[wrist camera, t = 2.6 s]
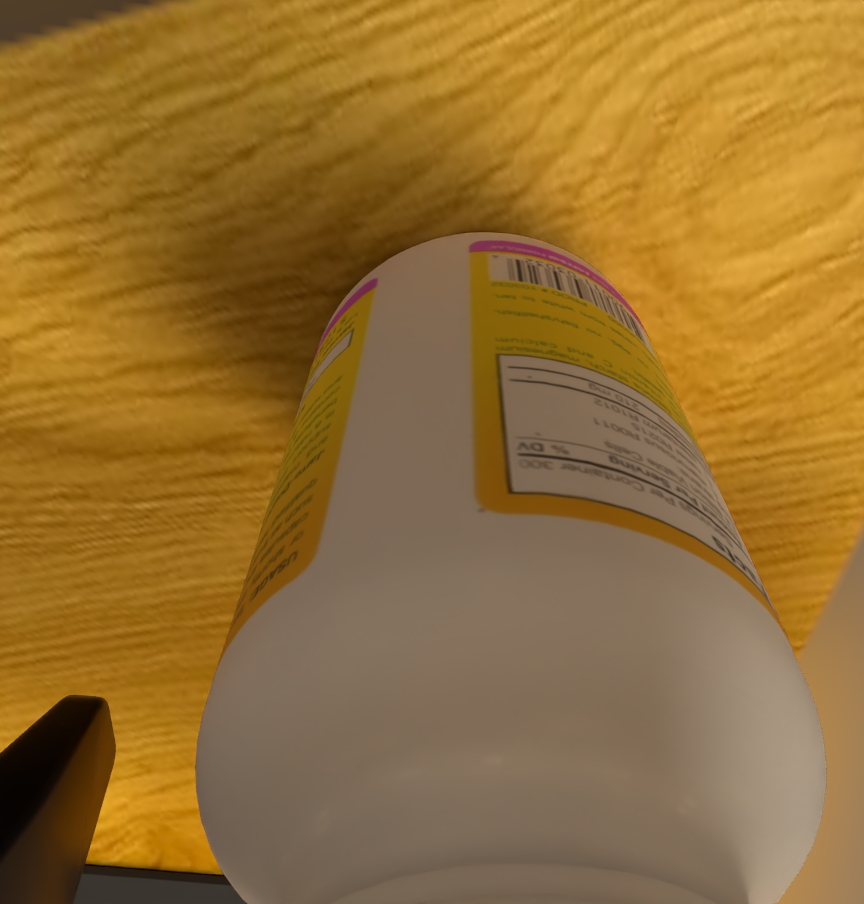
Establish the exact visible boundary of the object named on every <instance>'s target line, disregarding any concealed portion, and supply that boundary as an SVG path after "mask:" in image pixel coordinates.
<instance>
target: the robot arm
mask: <svg viewBox="0 0 864 904" xmlns="http://www.w3.org/2000/svg"><path fill="white" fill-rule="evenodd" d="M115 753H116V744H115V738H114V732H113V727H112V721H111V716H110V711H109V706H108V703H107V701H106V700H105V699H104V698H102V697H96V696H85V695H69V696H67V697H65V698H63V699H62V700H60V701H59V702H58V703H57V704H56V705H54V706H53V707H52V708H51V709H50V710H49V711H48V712H47V713H45V714H44V715H43V716H42V717H41V718H40V719H39V720H37V721H36V722H35V723H34V724H33V725H32V726H31V727H29V728H28V729H27V730H26V731H25V732H24V733H23V734H22V735H20V736H19V737H18V738H17V739H16V740H15V741H14V742H12V743H11V744H10V745H9V746H8V747H7V748H6V749H4V750H3V751H2V752H1V753H0V904H73V902H74V899H75V896H76V892H77V889H78V886H79V883H80V879H81V876H82V872H83V869H84V866H85V862H86V859H87V855H88V852H89V848H90V845H91V841H92V838H93V834H94V831H95V827H96V824H97V821H98V817H99V814H100V810H101V807H102V803H103V800H104V796H105V793H106V789H107V786H108V782H109V779H110V775H111V772H112V769H113V765H114V760H115Z"/></svg>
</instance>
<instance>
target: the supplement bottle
mask: <svg viewBox="0 0 864 904" xmlns="http://www.w3.org/2000/svg"><path fill="white" fill-rule="evenodd" d="M195 770H196V792H197V798H198V804H199V810H200V817H201V821H202V824H203V827H204V830H205V833H206V836H207V839H208V842H209V844H210V847H211V850H212V852H213V854H214V856H215V858H216V861H217V863H218V865H219V867H220V869H221V871H222V872H223V873H224V875H225V876H226V878H227V879H228V880H229V882H230V883H231V885H232V886H233V887H234V889H235V890H236V891H237V893H238V894H239V895H240V897H241V898H242V899H243V900H244V901H245V902H246V903H247V904H776V903H777V902H778V901H779V900H780V898H781V897H782V896H783V894H784V893H785V891H786V890H787V889H788V887H789V886H790V884H791V883H792V882H793V880H794V879H795V878H796V876H797V875H798V873H799V871H800V869H801V867H802V865H803V864H804V862H805V860H806V858H807V856H808V854H809V853H810V851H811V848H812V846H813V843H814V840H815V838H816V835H817V832H818V828H819V825H820V821H821V817H822V813H823V806H824V799H825V792H826V774H827V768H826V758H825V748H824V741H823V732H822V728H821V724H820V720H819V716H818V712H817V708H816V706H815V703H814V700H813V698H812V695H811V692H810V689H809V687H808V685H807V682H806V680H805V678H804V675H803V673H802V671H801V668H800V666H799V664H798V661H797V659H796V656H795V654H794V651H793V649H792V647H791V644H790V642H789V639H788V637H787V634H786V632H785V630H784V628H783V626H782V624H781V622H780V621H779V618H778V615H777V613H776V611H775V609H774V607H773V605H772V603H771V600H770V598H769V596H768V594H767V592H766V590H765V588H764V586H763V584H762V582H761V580H760V577H759V575H758V573H757V571H756V569H755V566H754V564H753V562H752V560H751V558H750V555H749V553H748V551H747V549H746V547H745V545H744V543H743V541H742V539H741V537H740V534H739V532H738V530H737V528H736V526H735V523H734V521H733V519H732V517H731V515H730V512H729V510H728V508H727V506H726V504H725V501H724V499H723V497H722V495H721V493H720V491H719V489H718V486H717V484H716V482H715V480H714V477H713V475H712V473H711V471H710V468H709V466H708V464H707V462H706V459H705V457H704V455H703V453H702V451H701V448H700V446H699V444H698V442H697V440H696V437H695V435H694V433H693V431H692V429H691V427H690V424H689V422H688V420H687V418H686V416H685V414H684V412H683V410H682V408H681V405H680V403H679V401H678V399H677V397H676V394H675V392H674V390H673V388H672V385H671V383H670V381H669V379H668V377H667V375H666V372H665V370H664V368H663V366H662V364H661V362H660V360H659V358H658V355H657V353H656V351H655V349H654V347H653V345H652V343H651V341H650V339H649V337H648V335H647V333H646V331H645V329H644V327H643V325H642V324H641V322H640V320H639V319H638V317H637V315H636V314H635V312H634V311H633V310H632V308H631V307H630V305H629V304H628V302H627V301H626V299H625V298H624V297H623V296H622V294H621V293H620V292H619V291H618V290H617V289H616V287H615V286H614V285H613V284H612V283H611V282H610V281H609V280H608V279H607V278H606V277H604V276H603V275H602V274H601V273H600V272H599V271H598V270H596V269H595V268H594V267H593V266H591V265H590V264H588V263H587V262H585V261H584V260H582V259H581V258H579V257H577V256H576V255H574V254H572V253H570V252H568V251H566V250H564V249H562V248H559V247H557V246H555V245H552V244H549V243H546V242H544V241H540V240H537V239H534V238H530V237H526V236H521V235H515V234H509V233H495V232H474V233H463V234H456V235H451V236H446V237H441V238H436V239H433V240H430V241H427V242H424V243H421V244H419V245H416V246H414V247H411V248H409V249H407V250H405V251H402V252H400V253H398V254H397V255H395V256H393V257H391V258H390V259H388V260H386V261H385V262H384V263H382V264H381V265H379V266H378V267H376V268H375V269H374V270H373V271H371V272H370V273H369V274H368V275H366V276H365V277H364V278H363V279H362V280H361V281H360V282H359V283H358V284H357V285H356V286H355V287H354V288H353V289H352V290H351V291H350V292H349V294H348V295H347V296H346V297H345V298H344V300H343V301H342V302H341V304H340V305H339V306H338V308H337V309H336V311H335V313H334V314H333V316H332V318H331V320H330V322H329V324H328V326H327V328H326V330H325V332H324V334H323V336H322V338H321V341H320V344H319V347H318V349H317V352H316V355H315V358H314V361H313V364H312V366H311V370H310V373H309V377H308V380H307V383H306V386H305V389H304V393H303V396H302V399H301V403H300V406H299V409H298V412H297V415H296V419H295V422H294V425H293V428H292V431H291V434H290V437H289V441H288V444H287V447H286V451H285V454H284V457H283V460H282V463H281V467H280V470H279V473H278V476H277V480H276V483H275V486H274V490H273V493H272V496H271V499H270V502H269V505H268V509H267V512H266V515H265V518H264V521H263V525H262V528H261V532H260V535H259V538H258V542H257V545H256V548H255V551H254V554H253V558H252V561H251V564H250V567H249V570H248V573H247V576H246V579H245V583H244V586H243V589H242V592H241V595H240V598H239V601H238V604H237V608H236V611H235V614H234V617H233V620H232V623H231V626H230V629H229V632H228V635H227V638H226V642H225V645H224V648H223V651H222V654H221V657H220V660H219V663H218V666H217V669H216V672H215V675H214V679H213V682H212V686H211V689H210V693H209V696H208V699H207V702H206V706H205V709H204V712H203V716H202V721H201V726H200V731H199V736H198V741H197V753H196V765H195Z"/></svg>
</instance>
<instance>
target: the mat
mask: <svg viewBox="0 0 864 904" xmlns="http://www.w3.org/2000/svg"><path fill="white" fill-rule="evenodd" d="M73 904H247V903H246V902H245V901H244V900H243V899H242V898H241V897H240V895H239V894H238V893H237V891H236V890H235V889H234V887H233V886H232V885H231V883H230V882H229V880H228V879H227V878H226V877H225V876H212V875H200V874H187V873H175V872H162V871H150V870H137V869H125V868H112V867H100V866H87V865H85V866H84V869H83V872H82V876H81V879H80V883H79V886H78V889H77V892H76V896H75V899H74V902H73Z"/></svg>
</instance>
